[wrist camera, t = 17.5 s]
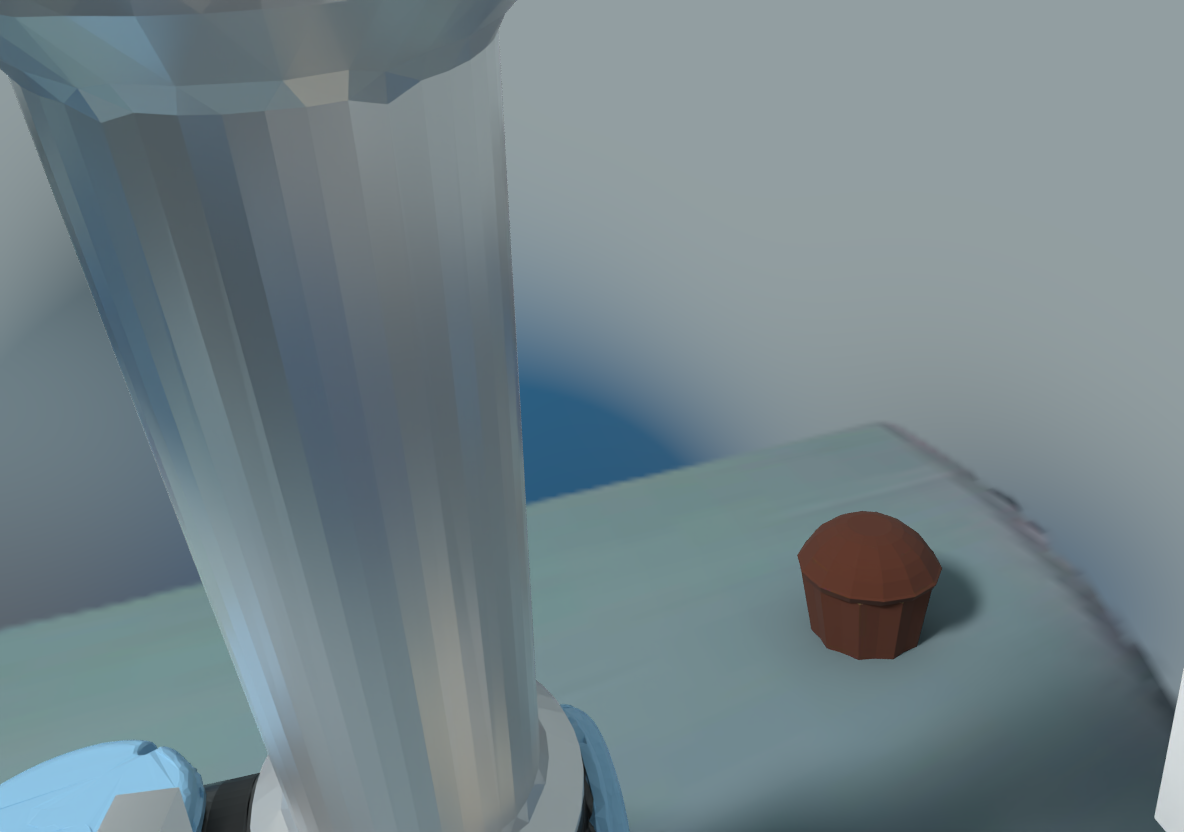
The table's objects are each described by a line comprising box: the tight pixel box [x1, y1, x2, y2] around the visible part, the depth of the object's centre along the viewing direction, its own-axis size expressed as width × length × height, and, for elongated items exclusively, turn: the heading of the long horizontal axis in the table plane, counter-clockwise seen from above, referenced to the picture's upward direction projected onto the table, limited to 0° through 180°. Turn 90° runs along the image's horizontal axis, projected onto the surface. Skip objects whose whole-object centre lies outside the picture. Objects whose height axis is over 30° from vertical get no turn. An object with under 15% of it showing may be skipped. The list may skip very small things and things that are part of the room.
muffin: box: [797, 511, 942, 660], centre depth 77 cm, size 12×11×10 cm
